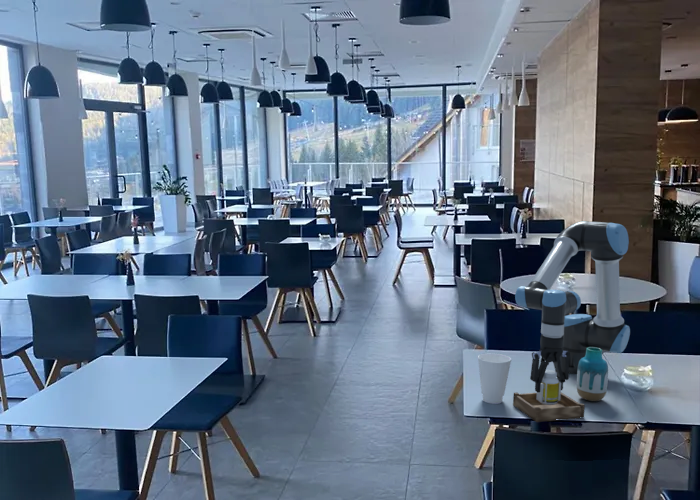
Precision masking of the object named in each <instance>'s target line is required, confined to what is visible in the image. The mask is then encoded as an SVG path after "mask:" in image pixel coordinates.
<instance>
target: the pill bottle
mask: <svg viewBox="0 0 700 500" xmlns="http://www.w3.org/2000/svg"><path fill="white" fill-rule="evenodd" d="M541 383H543V400H542V402H540V403H542V404H545V405H555V404H557V402H558V384H559V381H558V379H557V372H556V371H555V370H552V369H546V371H545V374H544V377H543V379H542V382H541Z"/></svg>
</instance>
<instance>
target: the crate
mask: <svg viewBox="0 0 700 500" xmlns="http://www.w3.org/2000/svg"><path fill="white" fill-rule="evenodd" d="M536 397H537V392H524V393H519V392H517V391H516V392H513V397H512V399H513V402H512V406H514V407H515V409H516V408H517V410H519V411H521V412H522V414H524V415H526V416H527V417H528V418H530V419H532V420H533V421H534V422H536V423H542V422H553V421H554V422H555V421H557V420H556V419H566V420H573V419H574V420H575V418H576V419H581V418H580V417H584V418H585V410H586V409H585V404H584V403H580V402H579V401H577V400H574V399H573V398H572V397H569V396H568V395H566V394H565V393H563V392H561V396H560V401H558V402H557V404H555V405H545V404H542V403H540V402H539V401H538V400H536Z"/></svg>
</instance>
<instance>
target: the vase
mask: <svg viewBox="0 0 700 500" xmlns="http://www.w3.org/2000/svg"><path fill="white" fill-rule="evenodd" d="M608 381H609V365H608V362H607V361H606V360H605V359H604V358H603V351H602V349H600V348H596V347H588V348H587V349H586V355H585V357H583V358H581V359H580V361H579V364H578V370H577V374H576V389H577V391H576V392H577V394H578V396H579V397H580V398H581V399H584V400H586V401H589V402H598V401H602V399H604V397H606V393H607V389H608Z"/></svg>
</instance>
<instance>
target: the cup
mask: <svg viewBox="0 0 700 500" xmlns="http://www.w3.org/2000/svg"><path fill="white" fill-rule="evenodd" d="M477 360H478V371H479V379H480V380H479V381H480V390H481V394H482V401H483V402H485V403H487V404H493V405H496V404H498V405H499V404H501V403H502V402H503V398H504V396H505V393H506V388H507V384H508V383H507V382H508V377H509V372H510V367H511V363H512V358H511V357H510V356H508V355H505V354H501V353H496V352H495V353H494V352H491V353H490V352H489V353H487V352H486V353H482V354H480V353H479V354H478V356H477Z"/></svg>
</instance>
